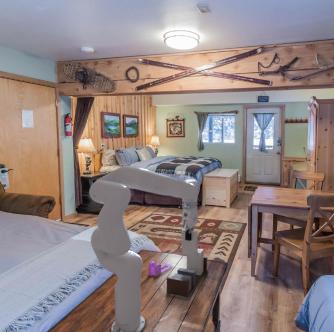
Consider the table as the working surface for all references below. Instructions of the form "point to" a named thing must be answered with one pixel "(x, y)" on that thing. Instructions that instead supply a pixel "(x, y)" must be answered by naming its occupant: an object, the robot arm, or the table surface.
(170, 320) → the table surface
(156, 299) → the table surface
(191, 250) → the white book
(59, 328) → the table surface
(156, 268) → the bracket
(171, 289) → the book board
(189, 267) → the white books
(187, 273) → the grey books
